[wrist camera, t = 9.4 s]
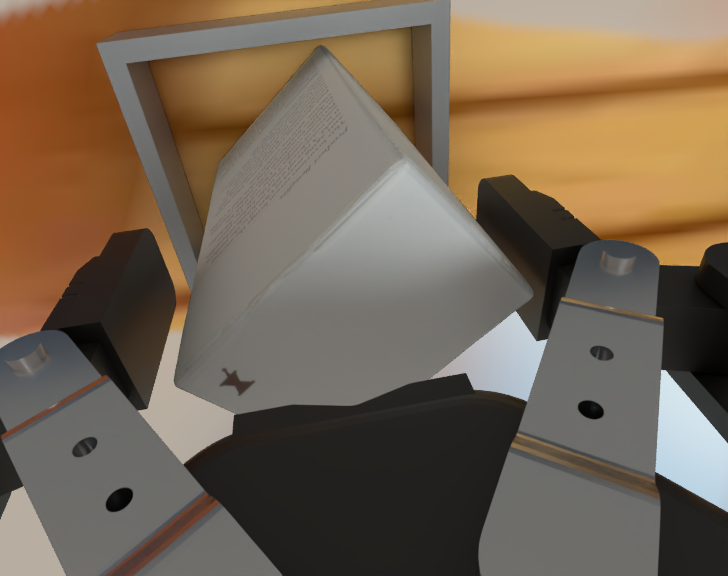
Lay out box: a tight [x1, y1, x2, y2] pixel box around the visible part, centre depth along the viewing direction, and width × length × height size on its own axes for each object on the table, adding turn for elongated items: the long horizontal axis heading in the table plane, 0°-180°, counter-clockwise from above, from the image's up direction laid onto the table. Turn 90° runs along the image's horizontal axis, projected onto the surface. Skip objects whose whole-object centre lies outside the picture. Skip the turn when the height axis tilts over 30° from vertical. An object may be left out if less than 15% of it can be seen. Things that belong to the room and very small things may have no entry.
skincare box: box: [174, 45, 533, 414], centre depth 14 cm, size 6×4×12 cm
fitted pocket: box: [96, 0, 450, 292], centre depth 17 cm, size 10×9×2 cm
